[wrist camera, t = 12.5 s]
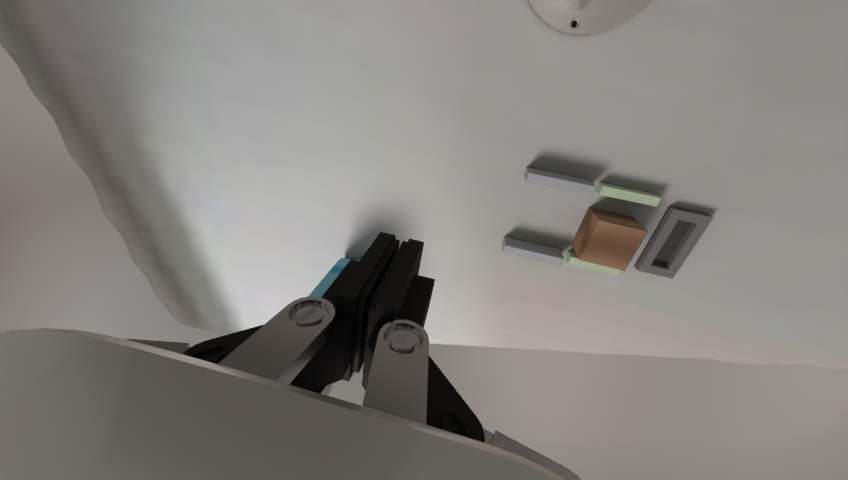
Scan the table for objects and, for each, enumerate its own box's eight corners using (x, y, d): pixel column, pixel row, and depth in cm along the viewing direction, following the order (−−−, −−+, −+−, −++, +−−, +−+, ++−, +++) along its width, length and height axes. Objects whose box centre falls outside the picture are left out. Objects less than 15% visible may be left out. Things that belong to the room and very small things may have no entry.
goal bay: (598, 182, 35) (603, 186, 34) (654, 193, 34) (661, 198, 33) (565, 257, 40) (567, 263, 38) (613, 268, 39) (618, 275, 38)
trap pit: (669, 206, 35) (673, 209, 34) (707, 214, 34) (713, 217, 33) (634, 266, 38) (637, 270, 38) (668, 273, 38) (672, 278, 37)
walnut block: (588, 206, 36) (598, 220, 33) (632, 216, 36) (647, 231, 33) (571, 243, 39) (579, 260, 35) (612, 253, 38) (624, 271, 35)
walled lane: (526, 167, 36) (529, 172, 33) (589, 180, 35) (596, 186, 33) (502, 243, 40) (502, 252, 38) (557, 255, 40) (561, 266, 38)
